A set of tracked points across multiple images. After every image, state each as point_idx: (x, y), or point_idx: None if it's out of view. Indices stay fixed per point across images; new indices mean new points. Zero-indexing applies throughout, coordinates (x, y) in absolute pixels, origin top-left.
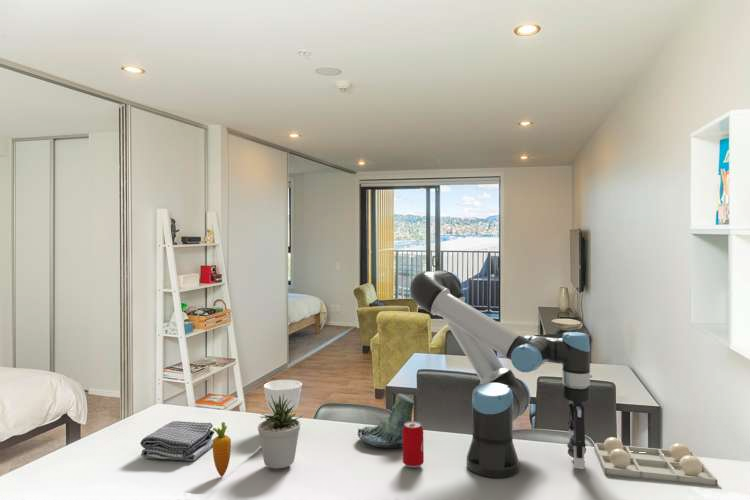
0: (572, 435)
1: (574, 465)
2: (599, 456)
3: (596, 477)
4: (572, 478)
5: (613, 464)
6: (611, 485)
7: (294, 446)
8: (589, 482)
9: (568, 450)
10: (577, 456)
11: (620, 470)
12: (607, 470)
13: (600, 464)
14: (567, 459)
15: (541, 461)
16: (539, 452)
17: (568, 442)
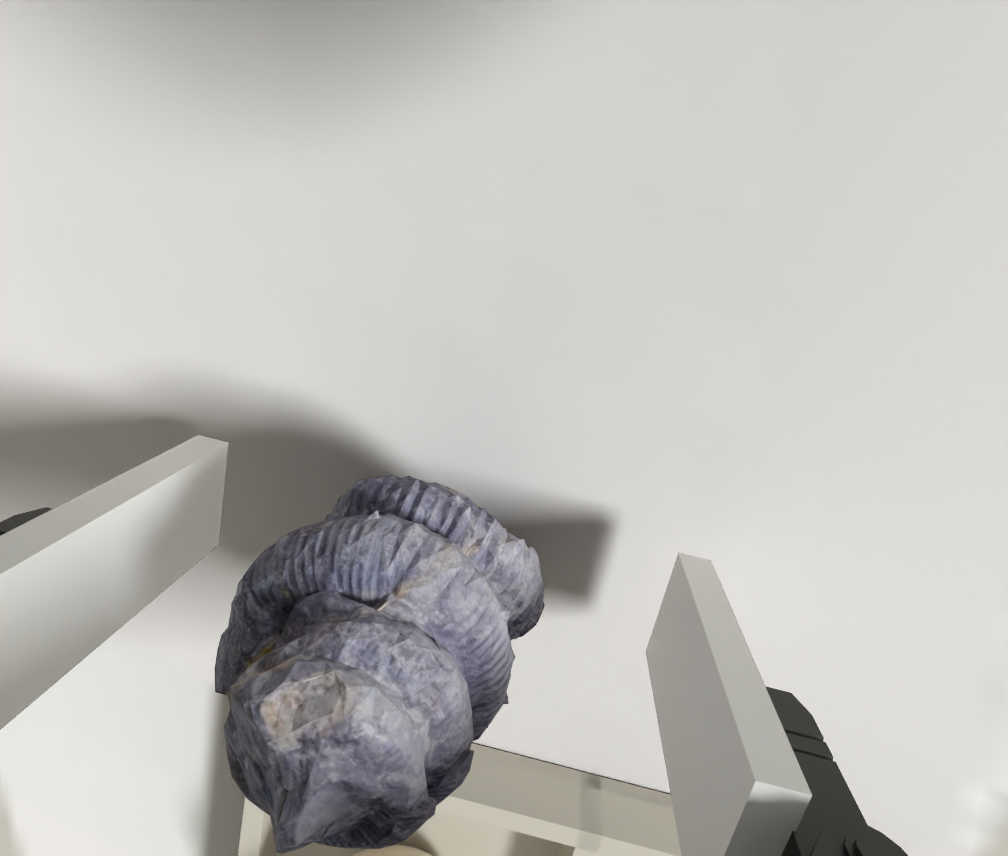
0: (287, 720)
1: (179, 448)
2: (562, 817)
3: (221, 603)
4: (155, 366)
5: (366, 851)
6: (87, 658)
7: None
8: None
9: (385, 497)
10: (16, 519)
11: (241, 847)
12: None
13: (508, 753)
14: (638, 484)
15: (577, 129)
16: (885, 186)
17: (408, 567)
